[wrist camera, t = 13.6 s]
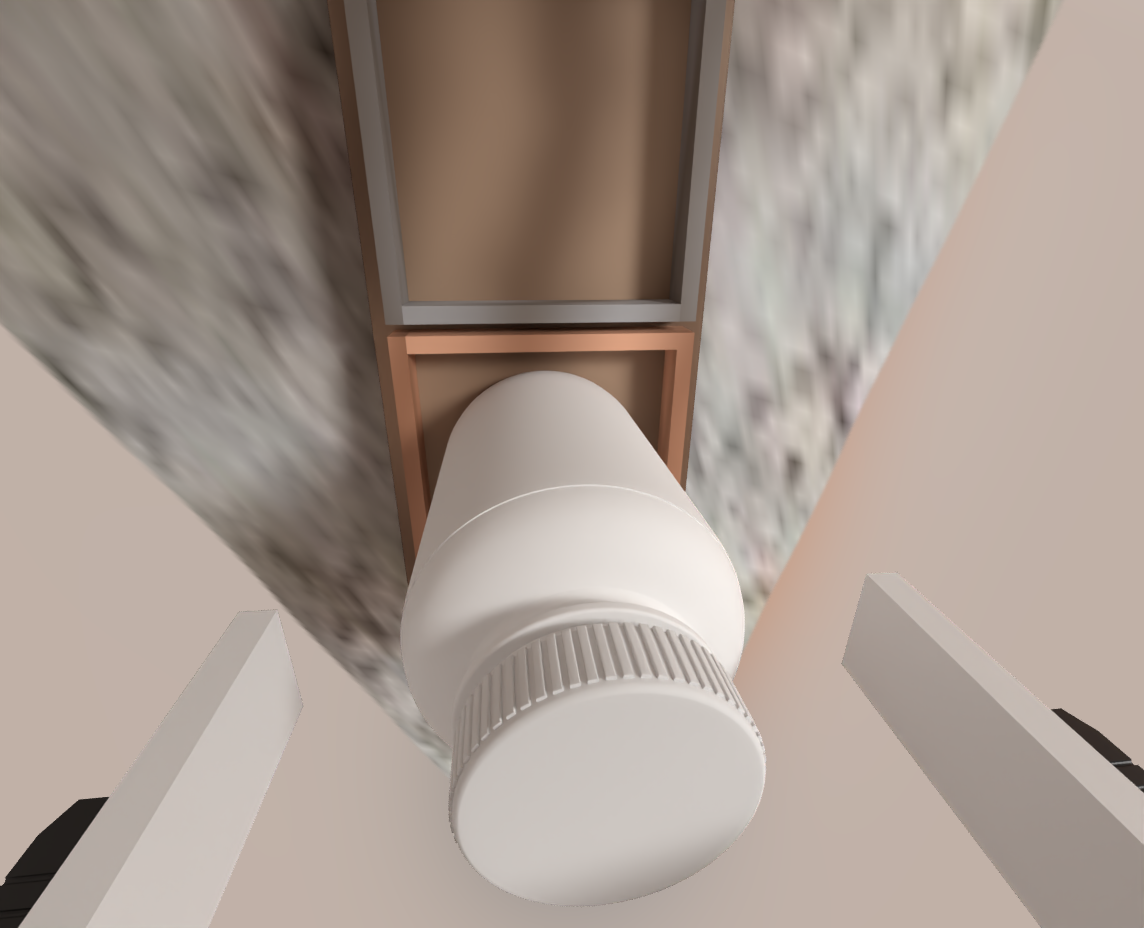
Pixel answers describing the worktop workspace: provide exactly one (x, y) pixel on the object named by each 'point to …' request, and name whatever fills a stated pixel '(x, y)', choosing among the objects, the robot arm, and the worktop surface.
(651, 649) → the pill bottle
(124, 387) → the worktop surface
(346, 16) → the compartment tray
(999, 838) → the robot arm
